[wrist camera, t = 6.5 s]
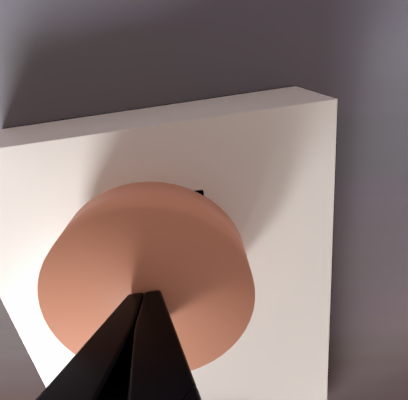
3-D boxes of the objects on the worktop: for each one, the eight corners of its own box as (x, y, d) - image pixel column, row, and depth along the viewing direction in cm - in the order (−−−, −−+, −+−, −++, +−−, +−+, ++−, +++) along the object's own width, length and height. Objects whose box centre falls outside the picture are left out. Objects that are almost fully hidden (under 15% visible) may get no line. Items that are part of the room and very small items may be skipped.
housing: (301, 414, 22) (323, 488, 18) (123, 438, 22) (110, 515, 18) (295, 86, 13) (337, 99, 9) (1, 129, 13) (-71, 158, 10)
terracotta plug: (237, 259, 14) (261, 363, 10) (113, 277, 14) (75, 388, 10) (223, 136, 12) (246, 191, 7) (75, 157, 12) (1, 225, 7)
